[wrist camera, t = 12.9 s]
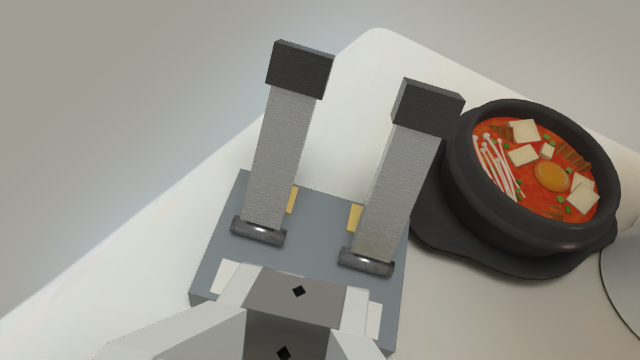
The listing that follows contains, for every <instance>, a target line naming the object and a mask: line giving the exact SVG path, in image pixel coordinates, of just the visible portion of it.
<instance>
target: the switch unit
mask: <svg viewBox="0 0 640 360" xmlns="http://www.w3.org/2000/svg"><path fill="white" fill-rule="evenodd" d="M250 174H251V171H247V170H244V169H240V172H239V174H238V176H237V179H236V181H235V183H234V186H233V188H232V191H231V193H230V195H229V198H228V200H227V202H226V205H225V207H224V209H223V212H222V214H221V216H220V219H219V221H218V224H217V226H216V228H215V231H214V233H213V235H212V238H211V240H210V242H209V245H208V247H207V249H206V252H205V254H204V256H203V259H202V261H201V264H200V266H199V268H198V271H197V273H196V275H195V278H194V280H193V282H192V285H191V287H190V289H189V292H188V294H189V300H190V306H193V307H195V306H197V305H200V304H202V303H204V302H207V301H209V300H210V301H215V302H216V300H217V299H218V297H219V296H220V294H221V293H222V291H223V290H224V288H225V286H226V285H227V283H228V282H229V280H230V279H231V277H232V276H233V274H234V273H235V271H236V270H237V268H238V267H239V265H240V264H241V263H243V262H246V263H251V264H255V265H260V266H263V267H268V268H272V269H276V270H280V271H285V272H289V273H293V274H297V275H301V276H305V277H307V278H312V279H317V280H322V281H326V282H331V283H336V284H341V285H346V286H353V287H359V288H364V289H369V291H370V295H369V304H368V314H367V324H366V333H365V337H368V338H372V340H373V341H374V342H375V344H376V345H377V347H378V348H379V349H380V351H381V352H382V354H383V355H384V357H385V358H387V357H389V356H390V355H392V354H393V353H394V352H395V348H396V339H397V330H398V321H399V312H400V303H401V294H402V286H403V277H404V268H405V259H406V250H407V241H408V232H409V223H410V218H408V221H407V223H406V226H405V228H404V230H403V233H402V235H401V237H400V240H399V242H398V245H397V247H396V249H395V252H394V254H393V257H392V259H391V260H392V261H395V269H394V272H393V275H392V277H391V278H388V277H385V276H381V275H378V274H374V273H371V272H368V271H364V270H361V269H357V268H354V267H350V266H347V265H344V264H340V263H338V257H339V253H340V250H341V247H342V246H344V247H348V248H351V240H352V237H353V235H354V232H355V229H356V226H357V224H358V221H359V218H360V215H361V213H362V210H363V207H364V205H363V204H359V203H356V202H353V201H349V200H346V199H342V198H339V197H336V196H332V195H329V194H325V193H322V192H319V191H315V190H312V189H308V188H305V187H302V186H298V185H295V184H293V187H292V190H291V194H290V197H289V201H288V204H287V208H286V212H285V215H284V219H283V222H282V225H281V227H280V228H283V229H286V230H288V231H287V235H286V238H285V242H284V245H283V247H282V246H278V245H275V244H271V243H268V242H265V241H261V240H258V239H254V238H251V237H247V236H244V235H241V234H237V233H234V232H230V226H231V223H232V220H233V217H234V215H238V216H241V212H242V208H243V203H244V199H245V195H246V191H247V186H248V182H249V178H250ZM346 289H347V287H346ZM343 304H344V303H343Z"/></svg>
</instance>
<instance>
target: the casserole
mask: <svg viewBox="0 0 640 360" xmlns="http://www.w3.org/2000/svg"><path fill="white" fill-rule="evenodd" d="M620 198H621V188H620V182H619V178H618V175H617V172H616V170H615V168H614V166H613V163H612V161H611V159H610V158H609V157H608V155H607V154H606V152H605V151H604V149H603V148H602V147H601V146H600V145H599V143H598V142H597V141H596V140H595V139H594V138H593V137H592V136H591V135H590V134H589V133H588V132H587V131H585V130H584V129H583V128H582V127H581V126H580V125H578V124H577V123H575V122H574V121H572V120H571V119H569V118H568V117H566V116H564V115H563V114H561V113H559V112H557V111H555V110H553V109H551V108H549V107H546V106H544V105H541V104H538V103H534V102H531V101H527V100H520V99H499V100H495V101H490V102H488V103H486V104H484V105H482V106H480V107H477V108H473V109H471V110H469V111H467V112H465V113H463V114H462V115H461V116H460V117H459V119H458V121H457V123H456V126H455V128H454V130H453V133H452V135H451V137H450V140H445V139H442V140H441V142H440V144H439V147H438V149H437V152H436V154H435V156H434V159H433V161H432V163H431V166H430V168H429V171H428V173H427V175H426V178H425V180H424V183H423V185H422V187H421V190H420V192H419V194H418V197H417V199H416V202H415V204H414V206H413V209H412V211H411V214H410V216H409V218H410V223H409V228H410V229H411V231H412V232H413V233H414V234H415V235H416V237H417V238H418V239H420V240H421V241H423V242H424V243H425V244H427V245H428V246H430V247H431V248H435V249H438V250H442V251H445V252H449V253H453V254H456V255H460V256H463V257H467V258H469V259H472V260H474V261H476V262H478V263H481V264H483V265H485V266H487V267H489V268H492V269H494V270H496V271H498V272H501V273H503V274H506V275H510V276H513V277H517V278H521V279H531V280H546V279H552V278H558V277H560V276H562V275H565V274H567V273H569V272H571V271H572V270H574V269H575V268H576V267H577V266H578V265H579V264H580V263H581V262H582V261H584V260H585V259H586V258H587V257H588V256H589V255H590V254H591V253H594V252H596V251H598V250H600V249H603V248H605V247H607V246H608V245H610V244H612V243H614V241H615V238H616V236H617V234H618V231H617V220H616V217H615V214H616V211H617V209H618V207H619V203H620Z"/></svg>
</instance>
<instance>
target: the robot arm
mask: <svg viewBox="0 0 640 360" xmlns="http://www.w3.org/2000/svg"><path fill="white" fill-rule="evenodd" d="M601 273H602V278H603V281H604V285H605V287H606V290H607V292H608V295H609V297H610V299H611V301H612V303H613V304H614V306H615V308H616V309H617V311H618V312H619V314H620V315H621V317H622V318H623V320H624V321H625V322H626V323H627V325H628V326H629V327H630V328H631V329H632V330H633V331H634V333H635V334H636V335H637V336H638V337H639V338H640V216H639V217H638V218H637V219H636V221H635V222H634V224H633V226H632V227H631V228H629V229H627V230H624V231H621V232H618V234H617V236H616V238H615V241H614V243H612V244H610V245H608V246H607V247H605V248H603V250H602V254H601ZM346 287H347V289H346ZM369 295H370V291H369V289H364V288H359V287H353V286H346V285H341V284H336V283H331V282H326V281H322V280H317V279H312V278H307V277H305V276H301V275H297V274H293V273H289V272H285V271H280V270H276V269H272V268H268V267H263V266H260V265H255V264H251V263H246V262H243V263H241V264H240V265H239V267H238V268H237V270H236V271H235V273H234V274H233V276H232V277H231V279H230V280H229V282H228V283H227V285H226V286H225V288H224V290H223V291H222V293H221V294H220V296H219V297H218V299H217V300H216V302H215V301H210V300H209V301H207V302H204V303H202V304H200V305H197V306H195V307H192V308H190V309H188V310H185V311H183V312H180V313H178V314H176V315H173V316H171V317H168V318H166V319H164V320H161V321H159V322H157V323H154V324H152V325H149V326H147V327H145V328H142V329H140V330H137V331H135V332H133V333H130V334H128V335H125V336H123V337H121V338H118V339H116V340H114V341H111V342H109V343H107V344H106V345H105V346H104V347H103V348H102V349H101V351H100V352H99V353H98V354H97V355H96V356H95V357H94V358H93V359H92V360H387V359H386V358H385V357H384V355H383V354H382V352H381V351H380V349H379V348H378V347H377V345H376V344H375V342H374V341H373V340H372V338H368V337H365V333H366V324H367V314H368V304H369ZM343 303H344V304H343Z"/></svg>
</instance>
